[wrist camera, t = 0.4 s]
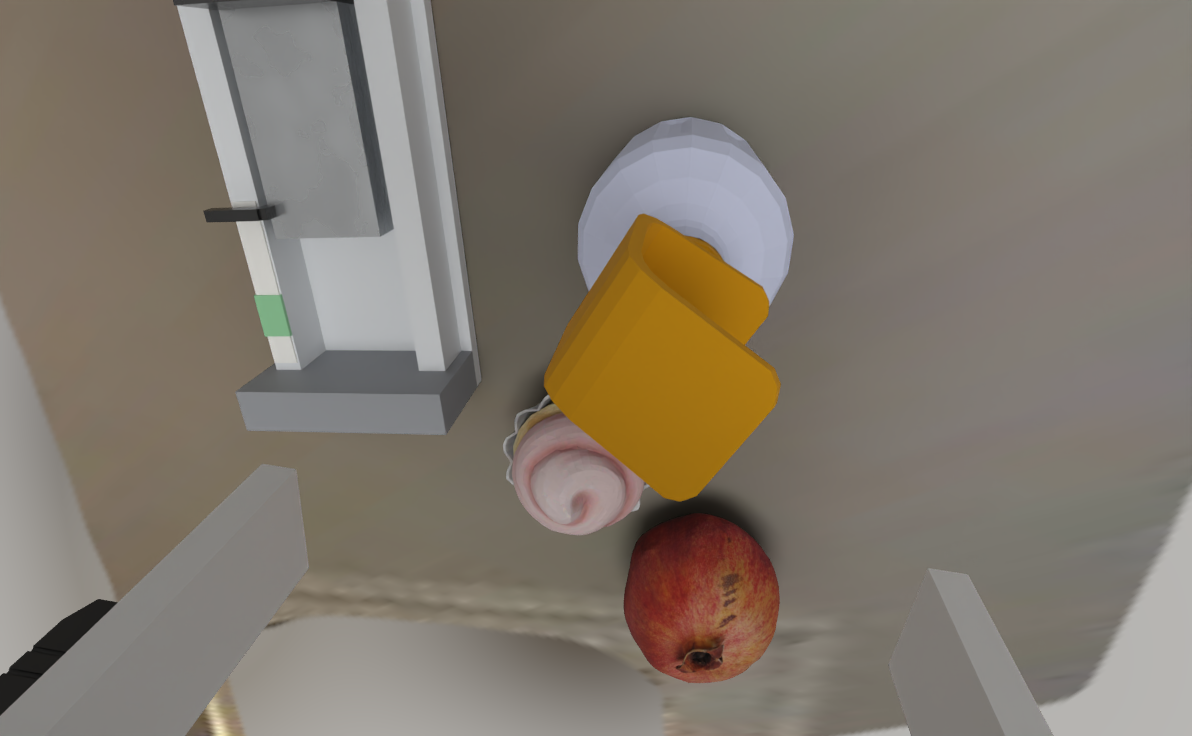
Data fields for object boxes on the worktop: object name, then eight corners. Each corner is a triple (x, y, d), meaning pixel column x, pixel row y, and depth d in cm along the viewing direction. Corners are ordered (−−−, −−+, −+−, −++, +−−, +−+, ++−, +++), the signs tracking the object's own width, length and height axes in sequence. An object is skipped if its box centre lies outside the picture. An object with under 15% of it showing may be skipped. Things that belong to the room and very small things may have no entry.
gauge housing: (204, -35, 35) (97, -56, 29) (423, -53, 33) (361, -79, 27) (309, 378, 45) (247, 430, 38) (481, 380, 43) (446, 434, 37)
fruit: (663, 464, 44) (656, 567, 35) (799, 520, 45) (827, 636, 36) (603, 574, 49) (583, 691, 40) (727, 624, 49) (735, 750, 40)
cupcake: (645, 495, 45) (634, 603, 36) (512, 464, 46) (468, 564, 37) (677, 375, 41) (673, 462, 32) (531, 342, 42) (487, 420, 33)
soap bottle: (704, 310, 39) (724, 632, 17) (573, 226, 38) (413, 454, 16) (802, 178, 35) (990, 374, 13) (661, 81, 34) (609, 119, 12)
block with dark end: (191, -27, 34) (96, -43, 28) (357, -40, 33) (291, -60, 27) (257, 227, 39) (188, 254, 34) (402, 224, 38) (354, 251, 33)
